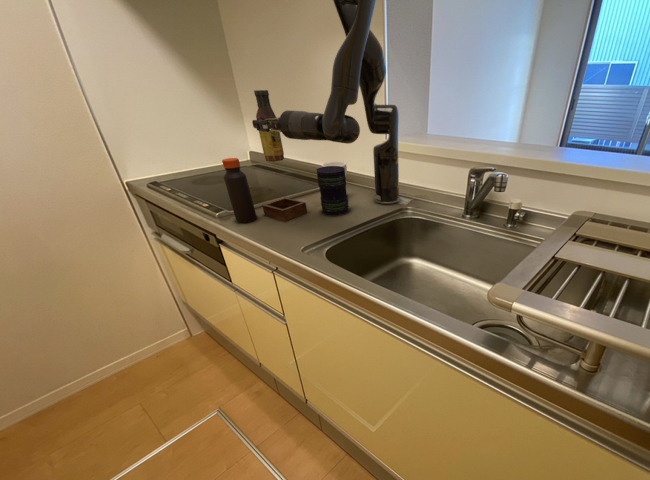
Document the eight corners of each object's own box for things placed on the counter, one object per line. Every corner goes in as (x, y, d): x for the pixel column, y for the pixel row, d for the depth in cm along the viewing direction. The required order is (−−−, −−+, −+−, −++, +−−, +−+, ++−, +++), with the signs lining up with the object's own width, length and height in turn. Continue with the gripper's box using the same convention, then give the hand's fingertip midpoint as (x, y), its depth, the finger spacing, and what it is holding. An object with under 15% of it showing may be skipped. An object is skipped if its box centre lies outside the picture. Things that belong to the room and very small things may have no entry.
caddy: (287, 207, 130) (285, 197, 128) (307, 212, 125) (305, 202, 123) (264, 215, 123) (262, 205, 121) (285, 221, 118) (282, 210, 115)
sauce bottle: (279, 162, 109) (263, 90, 98) (261, 162, 111) (244, 90, 100) (288, 158, 115) (275, 89, 104) (271, 158, 116) (256, 89, 105)
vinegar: (260, 219, 119) (245, 159, 108) (241, 224, 115) (223, 162, 104) (251, 215, 123) (236, 156, 112) (233, 220, 119) (215, 159, 108)
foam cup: (330, 193, 144) (326, 161, 136) (351, 194, 143) (348, 161, 135) (323, 200, 136) (318, 166, 129) (345, 201, 135) (342, 167, 128)
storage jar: (348, 215, 122) (344, 172, 113) (320, 216, 121) (314, 173, 113) (349, 206, 130) (345, 165, 122) (323, 207, 129) (317, 166, 121)
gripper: (315, 108, 103) (278, 107, 111) (276, 113, 93) (239, 111, 101) (318, 136, 107) (283, 132, 115) (282, 143, 97) (246, 138, 105)
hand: (263, 122), depth 108 cm, fingers closed on sauce bottle, 6 cm apart
